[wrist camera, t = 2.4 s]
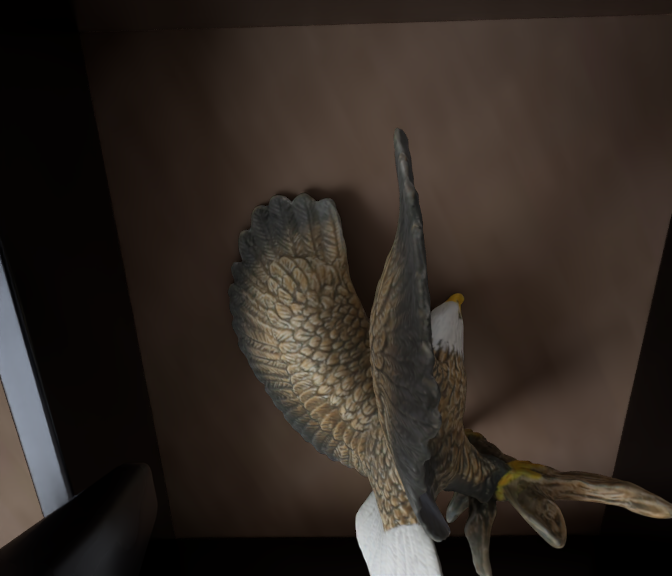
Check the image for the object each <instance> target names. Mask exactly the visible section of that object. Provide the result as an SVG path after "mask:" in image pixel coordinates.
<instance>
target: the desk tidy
mask: <svg viewBox="0 0 672 576" xmlns="http://www.w3.org/2000/svg"><path fill="white" fill-rule="evenodd" d="M660 14H672V0H0V380H1V383H2V386H3V389H4V393H5V396H6V399H7V402H8V405H9V408H10V412H11V415H12V418H13V421H14V424H15V428H16V431H17V434H18V437H19V440H20V443H21V447H22V450H23V453H24V456H25V459H26V463H27V466H28V469H29V472H30V475H31V478H32V482H33V485H34V488H35V491H36V494H37V498H38V501H39V504H40V507H41V510H42V514H43V517H44V518H45V517H46V516H48V515H49V514H51V513H52V512H53V511H55V510H56V509H58V508H59V507H60V506H62V505H63V504H65V503H66V502H68V501H69V500H70V499H72V498H73V497H75V496H76V495H78V494H79V493H80V492H82V491H83V490H85V489H86V488H88V487H89V486H90V485H92V484H93V483H95V482H96V481H98V480H99V479H100V478H102V477H103V476H105V475H106V474H108V473H109V472H110V471H112V470H113V469H115V468H116V467H118V466H119V465H121V464H124V463H146V464H148V465H149V467H150V469H151V472H152V477H153V482H154V487H155V492H156V497H157V504H158V508H157V516H156V520H155V523H154V526H153V529H152V533H151V536H150V539H149V543H148V546H147V549H146V552H145V556H144V559H143V562H142V566H141V569H140V572H139V575H138V576H370V573H369V569H368V567H367V563H366V561H365V559H364V557H363V553H362V550H361V549H360V547H359V544H358V540H357V538H206V539H175V534H174V528H173V523H172V518H171V513H170V507H169V502H168V497H167V492H166V487H165V481H164V476H163V471H162V466H161V460H160V455H159V450H158V445H157V439H156V434H155V429H154V424H153V418H152V413H151V408H150V403H149V397H148V392H147V387H146V382H145V377H144V371H143V366H142V361H141V356H140V350H139V345H138V340H137V335H136V329H135V324H134V319H133V314H132V308H131V303H130V298H129V293H128V287H127V282H126V277H125V272H124V267H123V261H122V256H121V251H120V246H119V240H118V235H117V230H116V225H115V219H114V214H113V209H112V204H111V198H110V193H109V188H108V183H107V177H106V172H105V167H104V162H103V157H102V151H101V146H100V141H99V136H98V130H97V125H96V120H95V115H94V109H93V104H92V99H91V94H90V88H89V83H88V78H87V73H86V67H85V62H84V57H83V52H82V47H81V41H80V36H79V33H84V32H116V31H148V30H180V29H212V28H244V27H276V26H308V25H340V24H372V23H404V22H436V21H468V20H500V19H532V18H564V17H596V16H628V15H660ZM612 478H615V479H619V480H622V481H627V482H631V483H633V484H635V485H637V486H639V487H641V488H643V489H645V490H647V491H649V492H651V493H653V494H655V495H657V496H659V497H661V498H662V499H664V500H666V501H667V502H669V503H671V504H672V215H671V219H670V224H669V228H668V232H667V237H666V241H665V246H664V250H663V255H662V259H661V263H660V268H659V272H658V277H657V281H656V286H655V290H654V294H653V299H652V303H651V308H650V312H649V317H648V321H647V325H646V330H645V334H644V339H643V343H642V348H641V352H640V356H639V361H638V365H637V370H636V374H635V379H634V383H633V388H632V392H631V396H630V401H629V405H628V410H627V414H626V419H625V423H624V427H623V432H622V436H621V441H620V445H619V450H618V454H617V458H616V463H615V467H614V472H613V476H612ZM433 541H434V540H433ZM434 543H435V547H436V550H437V553H438V556H439V560H440V563H441V568H442V573H443V576H480V575H479V574H478V573H477V572H476V569H475V566H474V563H473V557H472V552H471V548H470V544H469V542H468V539H467V537H447V538H446V540H442V541H441V542H437V541H434ZM489 560H490V565H491V569H492V576H672V518H666V519H665V518H653V517H648V516H644V515H641V514H638V513H635V512H632V511H630V510H628V509H626V508H624V507H621V506H616V505H609V504H606V507H605V512H604V516H603V520H602V525H601V529H600V534H599V536H567V538H566V543H565V545H564V547H562V548H555V547H553V546H551V545H550V544H549V543H548V542H546V541H545V540H544V539H543V538H542V537H541V536H522V537H490V543H489Z"/></svg>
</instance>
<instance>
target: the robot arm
mask: <svg viewBox="0 0 672 576" xmlns="http://www.w3.org/2000/svg"><path fill="white" fill-rule="evenodd" d="M157 508H158V504H157V497H156V492H155V487H154V482H153V477H152V472H151V469H150V467H149V465H148V464H146V463H124V464H121V465H119V466H118V467H116V468H115V469H113V470H112V471H110V472H109V473H108V474H106V475H105V476H103V477H102V478H100V479H99V480H98V481H96V482H95V483H93V484H92V485H90V486H89V487H88V488H86V489H85V490H83V491H82V492H80V493H79V494H78V495H76V496H75V497H73V498H72V499H70V500H69V501H68V502H66V503H65V504H63V505H62V506H60V507H59V508H58V509H56V510H55V511H53V512H52V513H51V514H49V515H48V516H46V517H45V518H43V519H42V520H41V521H39V522H38V523H36V524H35V525H33V526H32V527H31V528H29V529H28V530H26V531H25V532H23V533H22V534H21V535H19V536H18V537H16V538H15V539H13V540H12V541H11V542H9V543H8V544H6V545H5V546H3V547H2V548H1V549H0V576H138V575H139V572H140V569H141V566H142V562H143V559H144V556H145V552H146V549H147V546H148V543H149V539H150V536H151V533H152V529H153V526H154V523H155V520H156V516H157Z"/></svg>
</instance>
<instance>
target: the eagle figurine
mask: <svg viewBox="0 0 672 576" xmlns="http://www.w3.org/2000/svg"><path fill="white" fill-rule="evenodd" d="M394 148H395V161H396V170H397V177H398V183H399V192H400V198H399V199H400V213H399V220H398V226H397V232H396V236H395V240H394V243H393V246H392V249H391V251H390V252H389V254H388V256H387V259H386V262H385V266H384V270H383V273H382V276H381V278H380V280H379V282H378V285H377V289H376V293H375V299H374V304H373V307H372V311H371V317H370V322H369V320H368V318H367V315H366V313H365V311H364V309H363V307H362V304H361V302H360V300H359V298H358V296H357V294H356V292H355V289H354V286H353V283H352V281H351V277H350V274H349V265H348V259H347V252H346V244H345V240H344V237H343V230H342V224H341V219H340V216H339V214H338V211H337V208H336V204H335V202H334V201H333V200H332V199H330V198H323V199H321V200H320V201H316V200H314V199H313V198H312V197H310V196H309V195H308V194H306V193H301V194H300V195H298V196H297V197H296V198H295V199H294V200H293V201H292V202H291V201H290V200H289V199H288V198H287V197H285V196H282V195H275V196H273V197H271V199H270V202H269V206H263V205H259V206H257V207H256V208H255V209H254V210H253V212H252V215H251V228H250V230H244V231H242V232H241V233H240V236H239V240H238V245H239V252H240V255H241V258H242V262H234V263H233V265H232V267H231V271H232V274H233V278H234V284H231V285H230V287H229V290H228V295H229V297H230V303H229V307H230V312H231V314H232V315H233V321H232V327H233V330H234V331H235V333H236V334H237V337H238V340H239V341H238V346H239V348H240V349H241V351H242V352H243V353H244V354H245V356H246V358H247V359H248V363H249V365H250V367H251V369H252V370H253V371H254V374H255V376H256V377H257V379H258V380H259V381H260V382H261V383H263V384H264V385H265V391H266V392H267V394H268V395H269V396H270V397H271V399H272V401H273V403H274V405H275V406H276V407H277V408H278V409H279V410H280V411H282V412H283V414H284V418H285V419H286V420H287V421H288V422H289V423H290V425H291V426H292V428H293V429H294V430H295V431H297V432H299V433H300V434H301V436H302V437H303V439H304V440H305V441H306V442H309V443H311V444H312V445H313V446H314V447H315V449H316V450H317V451H318V452H319V453H321V454H326V455H327V456H328V458H329V459H331V460H332V461H339V462H341V463H342V464H343V465H345V466H347V467H349V468H356V470H357V471H358V472H359V473H360V474H361V475H362V476H364V477H368V478H369V482H370V484H371V487H372V489H373V491H372V492H371V493H370V495H369V496H368V498H367V499H366V501H365V502H364V503H363V504H362V506H361V507H360V509H359V511H358V512H357V514H356V537H357V540H358V544H359V547H360V549H361V550H362V553H363V557H364V559H365V561H366V563H367V567H368V569H369V573H370V576H443V573H442V568H441V563H440V560H439V556H438V553H437V550H436V547H435V543H434V541H437V542H441V541H442V540H446V538H447V537H448V536H449V534H450V532H451V531H450V528H449V526H448V524H447V522H450V523H451V522H453V521H455V520H456V519H457V517H458V516H459V515H460V514H461V513H462V512H464V511H465V510H466V509H467V508H468V507H469V516H468V519H467V521H466V524H465V528H464V532H465V535H466V537H467V539H468V542H469V544H470V548H471V552H472V557H473V563H474V566H475V569H476V572H477V573H478V574H479V575H480V576H492V569H491V565H490V560H489V543H490V533H491V527H492V524H493V521H494V519H495V516H496V514H497V509H496V501H500V502H503V501H509V502H510V503H511V504H512V505H513V506H514V508H515V509H516V510H517V511H518V512H519V513H520V515H521V516H522V517H523V518H524V519H525V520H526V521H527V522H528V523H529V525H530V526H531V527H532V528H533V529H534V530H535V531H536V532H537V533H538V534H539V535H540V536H541V537H542V538H543V539H544V540H545V541H546V542H548V543H549V544H550V545H551V546H553V547H555V548H562V547H564V545H565V543H566V538H567V530H566V524H565V521H564V517H563V515H562V513H561V510H560V508H559V507H558V506H557V504H556V503H555V502H554V501H555V500H575V501H588V502H598V503H603V504H609V505H616V506H621V507H624V508H626V509H628V510H630V511H632V512H635V513H638V514H641V515H644V516H648V517H653V518H665V519H666V518H672V504H671V503H669V502H667V501H666V500H664V499H662V498H661V497H659V496H657V495H655V494H653V493H651V492H649V491H647V490H645V489H643V488H641V487H639V486H637V485H635V484H633V483H631V482H627V481H622V480H619V479H615V478H611V477H607V476H603V475H599V474H594V473H587V472H579V471H570V472H560V471H557V470H555V469H553V468H551V467H548V466H544V465H541V464H533V463H531V462H530V461H519V460H517V459H515V458H513V457H510V456H508V455H506V454H503V453H502V452H501V451H500V450H499V449H498V448H497V447H496V446H495V445H494V444H492V443H490V442H488V441H487V440H486V438H485V437H484V436H483V435H482V434H480V433H478V432H473V430H471V429H464V427H463V421H462V418H463V414H464V411H465V399H466V386H467V379H466V371H465V368H464V352H463V328H464V327H463V320H462V315H461V304H462V303H463V301H464V297H463V295H462V294H459V293H456V294H453V295H452V296H450V298H449V299H448V300H447V301H445V302H444V303H443V304H441V305H439V306H438V307H436V308H435V309H433V310H432V311H431V307H430V293H429V289H428V279H427V264H426V250H425V244H424V234H423V221H422V214H421V210H420V205H419V196H418V193H417V191H416V189H415V187H414V178H413V172H412V162H411V155H410V152H409V148H408V139H407V136H406V134H405V133H404V131H403V130H401V129H399V128H396V129H395V133H394ZM442 490H444V491H454V495H453V497H452V500H451V501H450V503H449V505H448V507H447V512H446V520H447V522H446V521H445V519H444V517H443V515H442V514H441V512H440V510H439V508H438V506H437V505H436V503H435V501H436V498H437V495H438V494H439V493H440V492H441V491H442ZM433 540H434V541H433Z"/></svg>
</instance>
